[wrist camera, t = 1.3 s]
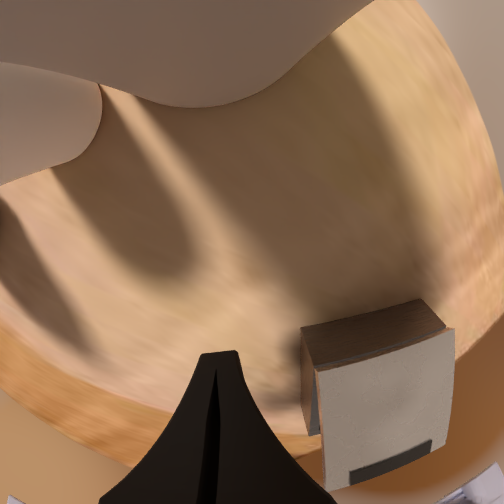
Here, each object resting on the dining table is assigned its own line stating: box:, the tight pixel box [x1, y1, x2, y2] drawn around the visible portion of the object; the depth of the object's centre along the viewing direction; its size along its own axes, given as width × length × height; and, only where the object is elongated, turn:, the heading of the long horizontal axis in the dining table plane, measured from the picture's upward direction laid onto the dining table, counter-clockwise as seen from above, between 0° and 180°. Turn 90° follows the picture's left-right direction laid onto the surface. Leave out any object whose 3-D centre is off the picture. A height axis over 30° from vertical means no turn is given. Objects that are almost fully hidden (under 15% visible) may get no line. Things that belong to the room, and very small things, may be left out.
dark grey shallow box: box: [300, 299, 446, 436], centre depth 22 cm, size 12×12×4 cm
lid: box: [315, 327, 455, 492], centre depth 16 cm, size 12×12×1 cm
